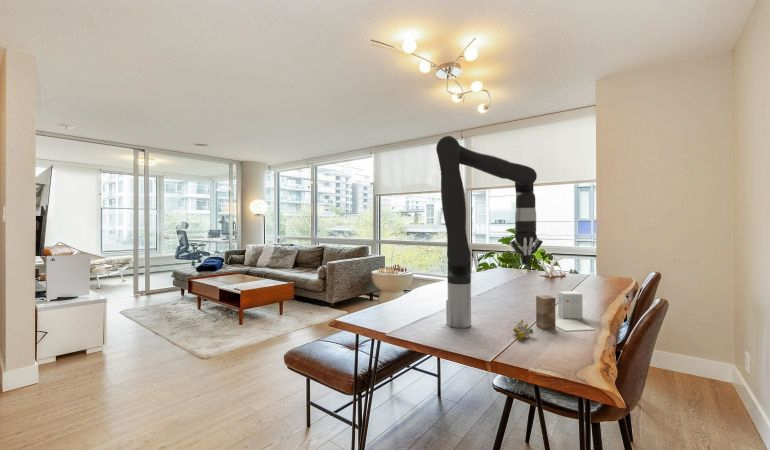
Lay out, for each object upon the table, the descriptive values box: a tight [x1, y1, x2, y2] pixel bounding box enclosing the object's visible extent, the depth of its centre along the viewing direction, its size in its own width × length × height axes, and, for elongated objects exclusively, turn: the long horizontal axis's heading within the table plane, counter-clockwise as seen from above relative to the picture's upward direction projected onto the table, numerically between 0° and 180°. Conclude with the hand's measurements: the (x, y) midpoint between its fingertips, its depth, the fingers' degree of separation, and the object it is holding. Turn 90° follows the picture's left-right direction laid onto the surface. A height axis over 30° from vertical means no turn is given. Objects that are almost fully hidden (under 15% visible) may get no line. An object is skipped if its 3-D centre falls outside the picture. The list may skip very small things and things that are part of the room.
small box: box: [557, 290, 584, 319], centre depth 151 cm, size 8×6×10 cm
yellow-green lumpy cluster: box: [512, 319, 534, 341], centre depth 130 cm, size 5×5×15 cm
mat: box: [555, 318, 596, 332], centre depth 140 cm, size 12×13×1 cm
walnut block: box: [535, 294, 556, 331], centre depth 138 cm, size 5×5×12 cm
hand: (525, 264), depth 136 cm, fingers closed
